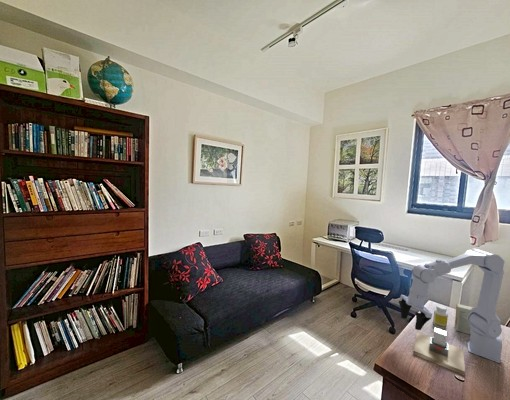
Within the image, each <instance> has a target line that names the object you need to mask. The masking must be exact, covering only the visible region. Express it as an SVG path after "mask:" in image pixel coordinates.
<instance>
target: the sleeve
mask: <svg viewBox="0 0 510 400" xmlns="http://www.w3.org/2000/svg"><path fill="white" fill-rule="evenodd" d="M430 337H431V338H430V347H429V350H430V351H433V352H435V353H438V354H440V355H443V356H445V357H448V351H449V349H448V344H449V342H447V341H446V346H445V348H443V347H440V346H438V345H435V344H433V338H434V336H430Z"/></svg>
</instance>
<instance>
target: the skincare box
mask: <svg viewBox="0 0 510 400" xmlns="http://www.w3.org/2000/svg"><path fill="white" fill-rule="evenodd" d="M455 307H456V308H455V318H454V328H455V331H457V332H460V333H463V334H464V333H465V334H468V335H471V327H470V323H469V322H468V320H467V316H468V314H469V313H470V312H471V309H472V308H474V307H473V306H469V305H465V304H460V303H456V305H455Z"/></svg>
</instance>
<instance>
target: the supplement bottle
mask: <svg viewBox="0 0 510 400" xmlns="http://www.w3.org/2000/svg"><path fill="white" fill-rule="evenodd" d="M447 310H448V309H447V307H446V306H444V305H441V304H437V305H436V307H435V309H434V310H433V318H432V325H434V326H435V327H436V328H438V329H446V328H447V327H448V325H447V324H448V317H449V315H448V312H447Z"/></svg>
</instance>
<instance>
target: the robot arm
mask: <svg viewBox="0 0 510 400" xmlns="http://www.w3.org/2000/svg"><path fill="white" fill-rule="evenodd" d="M505 262H506V261H505V260H504V259H503V257H501V256H500V255H499V254H496V253H491V252H488V251H486V250H482V249H480V248H476V247H475V248H471V249H468V250H466V251H465V252H464V253H462V254H460V255H456V256H455V257H452V258H450V259H447V260H444V259H438V258H437V259H435V261H433V262H429V263H425V264H424V265H421V264H417V265H415V266H414V267H413V269H411V274H412V281H411V282H412V283H411V287H410V290H409V295H408V296H406V295H404V294H400V296H399V297H400V298H399V299H400V300H398V304H399V308H400V316H401V317H400V318H401V319H404V320H407V318H408V316H409V313H410V310H411V309H412V308H414V309H416V310H417V311H418V312H415V319H416V320H415V325H414V329H415V330H416V331H421V330H422V328H424V325H426V323H428V322H429V321H430V320H431V319H433V318H432V317H433V313H432V312H431V311H430V310H429V309H427V308H426V307H425V303H426V298H427V295H428V291H429V287H430V283H433V282H434V281H435V280H436V279H438V277H441V276H444V275H446V274H447V275H448V274H450V273H451V271H452V269H456V268H460V267H464V266H467V265H468V266H469V265H474V266H477V267H478V268H479V269H480V270H482V272H483V277H482V282H481V286H480V291H479V296H478V300H477V301H478V302H477V305H476V307H473V308H472V309H471V312H470V313H469V314H468V316H467V320H468V322H469V323H470V327H471V334H469V335H470V337H469V341H467V342H466V343H467V349H468V352H469V353H471V354H473V355H476V356H479V357H482V358H484V359H488V360H490V361H493V362H495V363H498V364H500V363H501V358H502V352H503V351H502V350H503V340H502V337H500V336H501V335H502V332H503V329H502V325H501V324H502V319H500V318H499V316H498V315H497V313H496V312H497V311H496V310H497V306H498V302H499V297H500V291H501V287H502V283H503V278H504V273H505V272H504V266H505Z"/></svg>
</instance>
